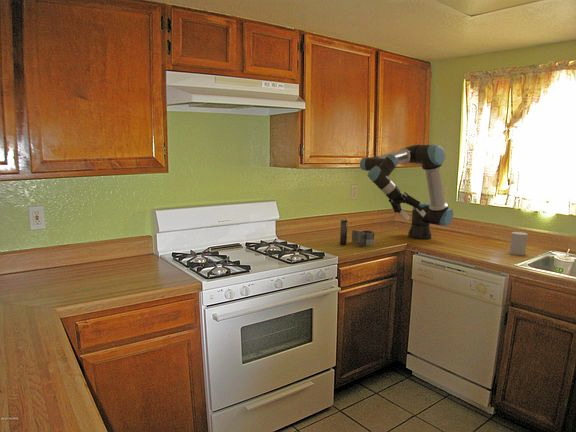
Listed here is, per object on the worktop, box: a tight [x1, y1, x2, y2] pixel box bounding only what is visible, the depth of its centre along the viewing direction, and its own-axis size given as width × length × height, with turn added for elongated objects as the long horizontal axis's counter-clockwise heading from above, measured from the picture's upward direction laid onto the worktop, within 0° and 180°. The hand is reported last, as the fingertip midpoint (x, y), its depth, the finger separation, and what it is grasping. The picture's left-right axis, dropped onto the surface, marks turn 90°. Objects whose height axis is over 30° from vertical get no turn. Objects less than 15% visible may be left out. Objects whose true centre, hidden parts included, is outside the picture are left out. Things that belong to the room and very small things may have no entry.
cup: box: [508, 231, 529, 256], centre depth 244 cm, size 8×8×12 cm
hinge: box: [351, 229, 375, 249], centre depth 257 cm, size 14×14×8 cm
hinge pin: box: [339, 217, 349, 247], centre depth 255 cm, size 5×5×16 cm
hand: (416, 217), depth 232 cm, fingers open, 13 cm apart
